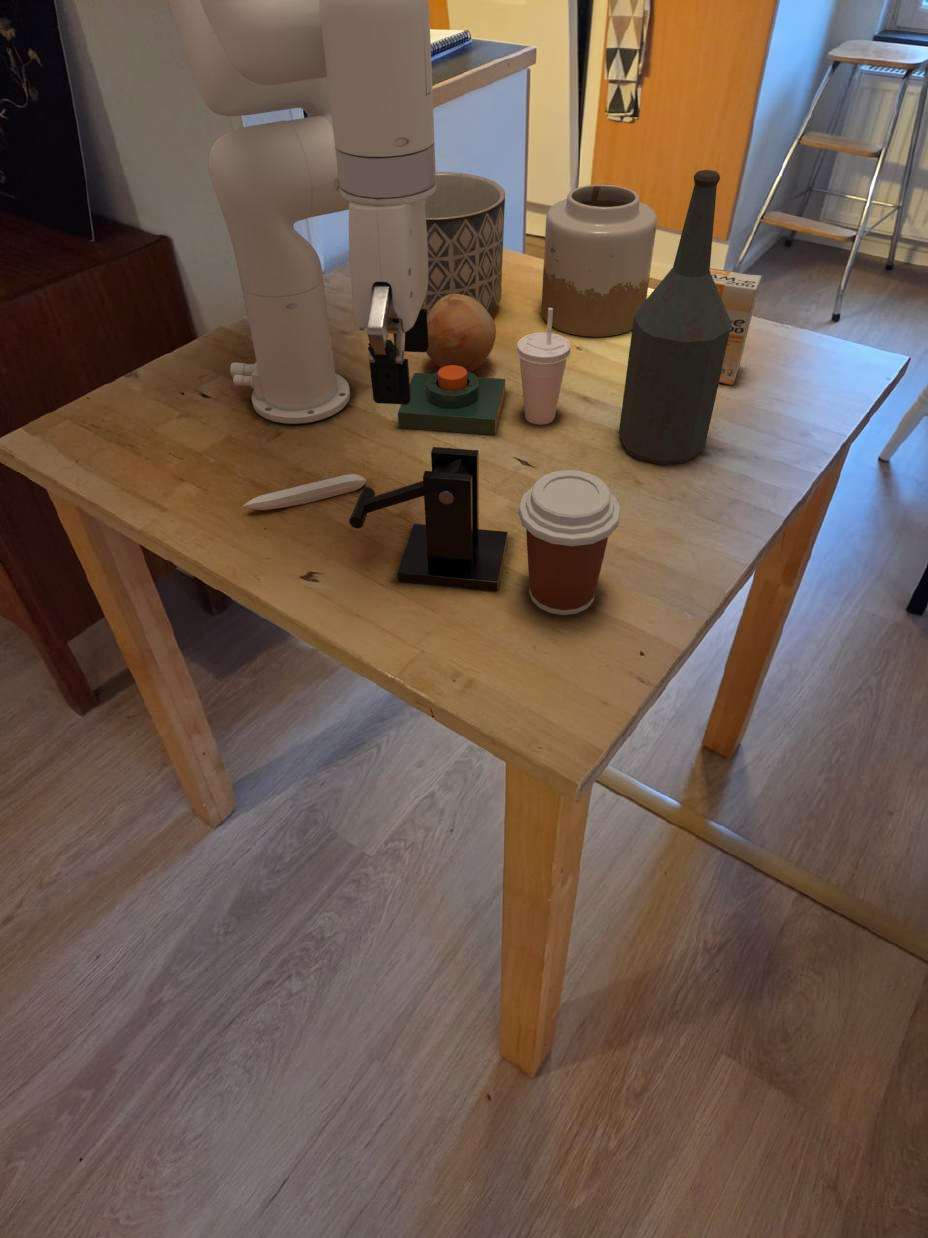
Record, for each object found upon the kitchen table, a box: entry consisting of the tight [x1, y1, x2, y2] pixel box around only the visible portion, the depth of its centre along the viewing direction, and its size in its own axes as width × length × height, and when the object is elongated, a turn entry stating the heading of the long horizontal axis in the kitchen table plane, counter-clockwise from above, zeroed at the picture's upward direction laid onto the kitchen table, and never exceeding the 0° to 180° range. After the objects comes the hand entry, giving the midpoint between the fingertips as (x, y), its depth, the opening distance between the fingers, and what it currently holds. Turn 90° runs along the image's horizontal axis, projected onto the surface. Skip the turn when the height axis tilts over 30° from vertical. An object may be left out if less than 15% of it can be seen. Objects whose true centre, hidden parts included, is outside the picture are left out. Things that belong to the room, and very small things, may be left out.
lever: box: [348, 459, 469, 530], centre depth 81 cm, size 12×5×2 cm, turn 81°
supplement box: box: [710, 267, 762, 386], centre depth 109 cm, size 8×5×13 cm, turn 68°
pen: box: [242, 473, 367, 511], centre depth 94 cm, size 2×14×2 cm, turn 113°
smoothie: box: [516, 308, 572, 425], centre depth 101 cm, size 6×6×14 cm
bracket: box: [396, 446, 509, 592], centre depth 82 cm, size 10×8×12 cm
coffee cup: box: [517, 469, 622, 616], centre depth 79 cm, size 9×9×12 cm
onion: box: [425, 294, 497, 373], centre depth 112 cm, size 10×10×10 cm
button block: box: [397, 371, 506, 436], centre depth 106 cm, size 12×10×4 cm
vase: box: [541, 184, 658, 338], centre depth 121 cm, size 15×15×17 cm
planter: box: [421, 171, 506, 315], centre depth 123 cm, size 19×19×16 cm
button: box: [437, 365, 467, 391], centre depth 104 cm, size 4×4×2 cm
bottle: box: [618, 169, 732, 466], centre depth 91 cm, size 10×10×30 cm
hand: (402, 375), depth 77 cm, fingers open, 9 cm apart
